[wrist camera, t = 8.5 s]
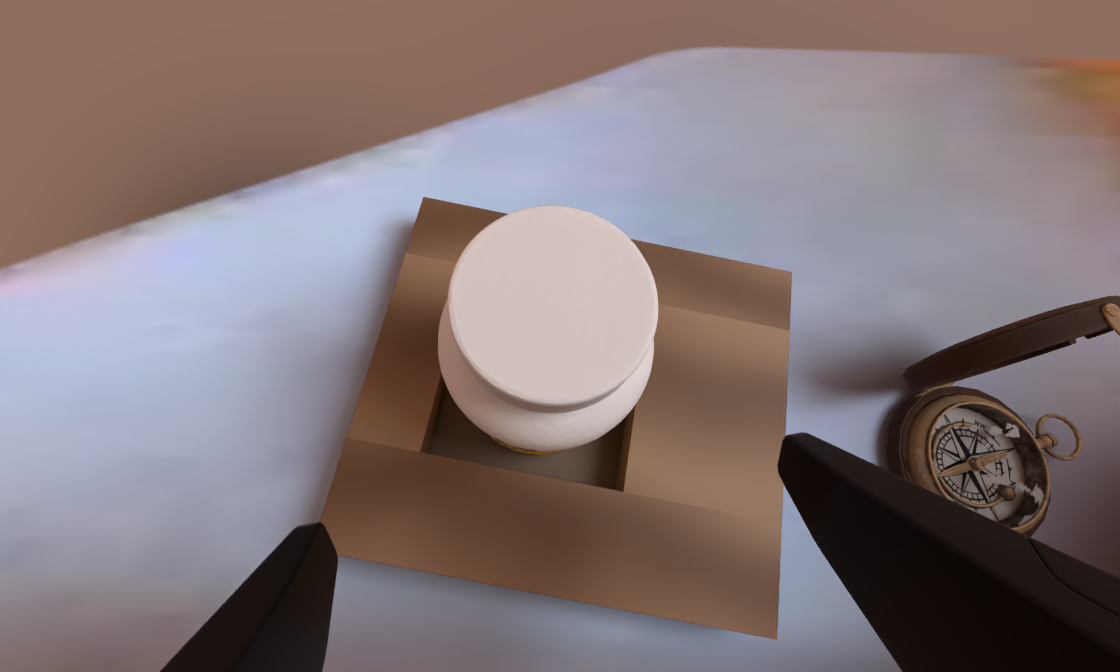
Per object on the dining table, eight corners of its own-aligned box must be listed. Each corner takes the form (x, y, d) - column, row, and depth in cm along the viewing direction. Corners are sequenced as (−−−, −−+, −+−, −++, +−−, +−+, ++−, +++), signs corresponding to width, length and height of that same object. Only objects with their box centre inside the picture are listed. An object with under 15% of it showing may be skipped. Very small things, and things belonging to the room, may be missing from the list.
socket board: (747, 619, 16) (776, 639, 14) (336, 540, 16) (310, 549, 14) (766, 290, 20) (791, 272, 18) (433, 223, 20) (423, 196, 18)
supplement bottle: (457, 447, 17) (371, 422, 8) (481, 311, 18) (435, 150, 9) (601, 465, 17) (691, 463, 8) (613, 329, 19) (701, 189, 9)
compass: (927, 569, 17) (1197, 636, 10) (841, 372, 19) (1017, 318, 12) (1094, 509, 18) (1439, 534, 11) (996, 329, 20) (1238, 257, 14)
